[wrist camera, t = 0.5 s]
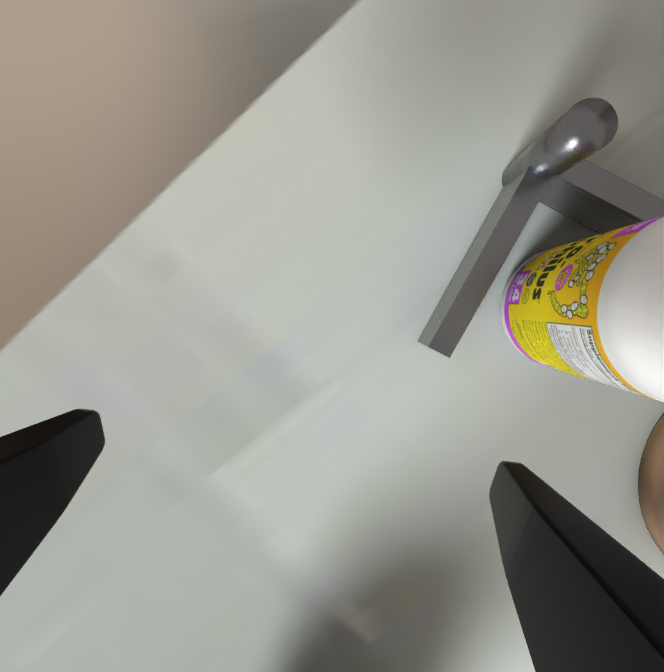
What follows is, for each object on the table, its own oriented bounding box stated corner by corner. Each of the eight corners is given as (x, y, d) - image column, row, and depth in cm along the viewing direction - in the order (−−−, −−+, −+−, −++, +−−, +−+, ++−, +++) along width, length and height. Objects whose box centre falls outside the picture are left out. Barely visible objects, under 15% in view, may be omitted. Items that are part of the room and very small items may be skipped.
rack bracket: (599, 437, 21) (697, 489, 15) (411, 337, 21) (434, 349, 15) (712, 257, 20) (866, 235, 14) (513, 153, 20) (582, 88, 14)
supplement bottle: (574, 224, 20) (957, 81, 7) (639, 322, 20) (1121, 346, 8) (471, 294, 21) (664, 271, 8) (535, 388, 21) (821, 512, 8)
